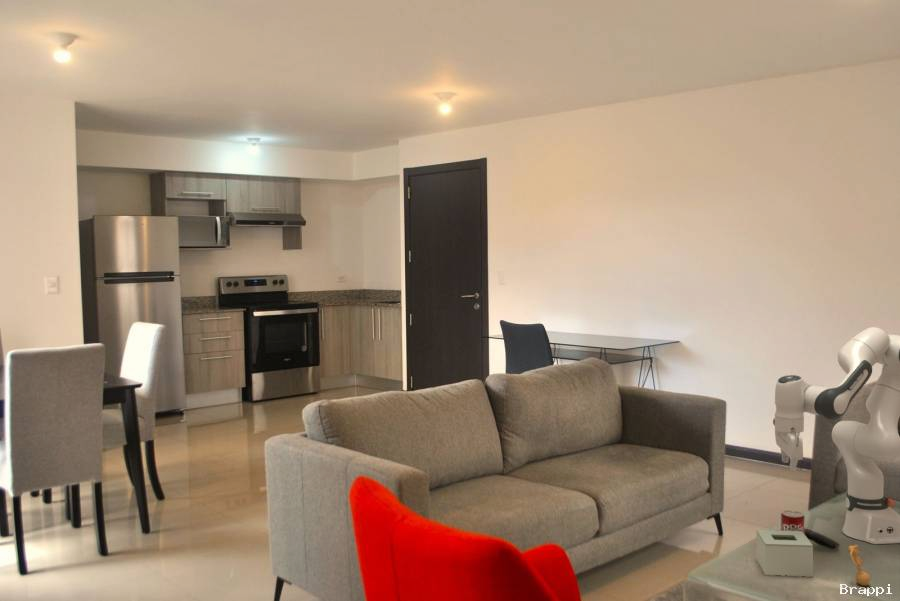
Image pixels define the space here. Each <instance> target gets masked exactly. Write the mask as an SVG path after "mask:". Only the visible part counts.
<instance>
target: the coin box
mask: <svg viewBox="0 0 900 601" xmlns="http://www.w3.org/2000/svg"><path fill="white" fill-rule="evenodd" d="M756 561H757V563H758V565H759V567H760V568H761V570H762V572H763V574H764V575H765V576H775V575H781V576H780V577H782V576H783V577H802V576H805V577H806V578H812V577H814V545H813V543H812V542H811V540H809V538H808V537H807V536H806V534H805V532H804V533H803V532H802V531H781V530H776V529H775V530H774V529H773V530H771V529H768V530H767V529H766V530H765V529H756ZM785 575H787V576H785ZM805 577H804V578H805Z"/></svg>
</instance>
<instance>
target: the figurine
mask: <svg viewBox="0 0 900 601" xmlns="http://www.w3.org/2000/svg"><path fill="white" fill-rule="evenodd" d="M858 549H859V545H858V544H854V545H849V546H848V549H847V550H848V552H849V555H850V559H851V560H852V562H853V565H854V566H856V570H857V571H858V572H857V573H856V574H855V576H854V577H855V582H856V583H857V584H859V585H860V586H864V587H865V586H867V585H869V584H870V582H871V577H870V575H869V574H868V573H867V572H865V571H864V570H863V569H862V568H861V567H862V565H863V564H864V562H863V560H861V558H862V557H863V555H862V553H860V551H859V550H858ZM858 554H859V556H860V557H861V558H860V557H859V556H858Z"/></svg>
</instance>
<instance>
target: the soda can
mask: <svg viewBox="0 0 900 601" xmlns="http://www.w3.org/2000/svg"><path fill="white" fill-rule="evenodd" d="M780 531H802V532H803V533H804V534H805V515H804V514H803V512H801V511H797V510H793V509H791V510H789V509H787V510H783V511H781V513H780Z"/></svg>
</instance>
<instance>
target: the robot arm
mask: <svg viewBox="0 0 900 601" xmlns="http://www.w3.org/2000/svg"><path fill="white" fill-rule="evenodd" d="M837 362H838V364H839V366H840V368H841V369H842V370H843V371H844V373H845V374H846V375H845V377H844V378H843V379H842V380H841V381H840V383H839V384H838V385H836V386H832V387H830V386H829V387H828V386H827V387H826V386H824V385H823V386H821V385H818V384H814V383H811V382H808V381H806V380H804V379H803V378H802V376H800V375H795V374H794V375H792V374H790V375H784V376H781V377H779V378H778V379H777V380H776V385H775V389H774V391H775V392H774V405H775V408H776V409H775V413H774V418H773V420H772V424H773V425H774V426H773V427H774V435H775V436H774V437H775V442H776V445H777V446H778V448H780V454H781V462H783V463H789V461H790V463H789V470H790V471H791V472H796V471H797V467H798V466H797V465H798V463H799V461H800V460H801V461H803V458H804V444H803V438H802V436H801V434H800V433H803V432H804V431H805V415H804V413H808V414H812V415H816V416H820V417H822V418H825V419H828V420H830V421H835V420H838V419H840V418H841V417H842V416H844V415H845V413H846V412H847V410H848V408H849V406H850V404H851V403H852V401H853V400H854V399H855V397H856V396H857V395H858V393H860V391H861V390H862V389H863V387H864V386H865V385H866V384H867V383H868V381H869V380H870V378H871V376H872V374H873V366H874V365H876V364H877V363H878V364H879V365H883V371H882V372H881V374H880V376H879V377H878V379H877V381H876V382H875V384H874V386H873V388H872V389H871V391H870V393H869V395H868V397H867V399H866V401H865V408H866V410H867V412H868V413H869V415H870V418H869V422H868V423H863V422H859V421H855V420H840V421H837V423H836V424H835V425H834V426H833V428H832V430H831V439H832V442H833V443H834V445H835V446H836V447H837V448H838V449H839V451H840V453H841V456H842V458H843V461H844V463H845V468H846V472H847V473H846V474H847V492H846V496H845V507H846V514H845V520H844V524H843V526H842V533H843V534H845V536H848V537H850V538H851V539H856V540H858V541H864V542H867V543H870V544H872V545H882V544H884V545H885V544H900V514H899V513H898V512H896V511H895V510H894V509H893V508H891V507H894V506H895V504H896V502H895V501H894V500H893V499H892V498H888V497H887V496H886V495H884V482H885V481H884V480H885V479H884V474H883V471H882V470H881V469H880V468H879V467H878V466H877V464H876V462H875V461H874V460H876V461H881V462H882V461H883V462H894V461H896V460H898V459H899V458H900V435H899V429H898V425H899V419H900V334H888V333H887V332H886V331H885V330H883V329H882V328H880V327H877V326H876V327H875V326H871V327H867V328H866V329H864V330H861V332H859V333H857V334H856V335H854V336H853V337H852V338H850V339H849V340H848V341H847V342H846V343H844V345H842V347H841V348H840V349H839V351H838V352H837Z"/></svg>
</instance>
